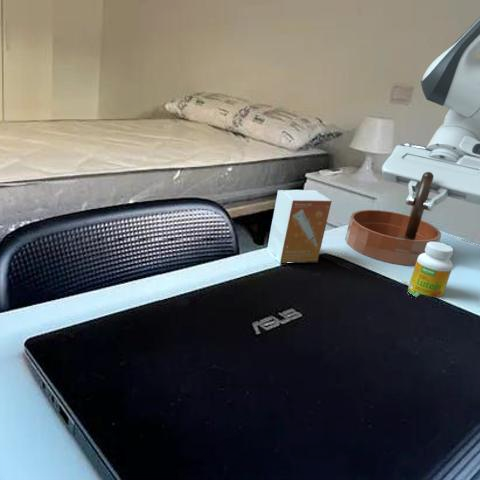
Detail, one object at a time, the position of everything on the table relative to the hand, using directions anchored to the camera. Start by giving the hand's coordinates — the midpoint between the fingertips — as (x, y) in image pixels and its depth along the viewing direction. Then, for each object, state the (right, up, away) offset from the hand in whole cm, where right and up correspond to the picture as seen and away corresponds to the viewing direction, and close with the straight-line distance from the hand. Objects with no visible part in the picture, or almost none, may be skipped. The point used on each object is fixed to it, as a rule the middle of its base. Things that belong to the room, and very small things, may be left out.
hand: (418, 206), depth 98 cm
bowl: (-3, -9, +7) cm, 12 cm away
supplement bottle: (-5, -17, -11) cm, 21 cm away
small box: (-25, -10, 0) cm, 27 cm away
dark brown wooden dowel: (0, -8, +4) cm, 9 cm away
